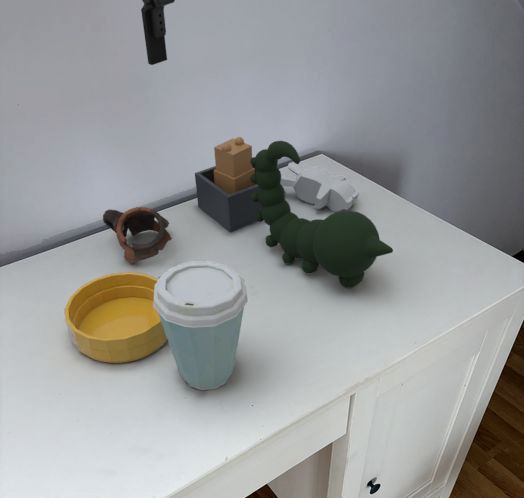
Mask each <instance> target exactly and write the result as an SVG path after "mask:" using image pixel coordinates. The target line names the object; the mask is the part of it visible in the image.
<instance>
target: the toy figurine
mask: <svg viewBox="0 0 524 498" xmlns="http://www.w3.org/2000/svg"><path fill="white" fill-rule="evenodd" d="M283 158H287V159H289V160H291V162H294V163H296V164H299V165H300V163H301V158H300V155H299V154H298V151H297V149H296V148H295V147H294V146H293V144H291V143H289V141H288V142H287V141H285V140H276V141H273V142H271V143H270V144H269V145H268V147H267V149H261V150H260V151H258V152H257V153H256V155H255V156H252V158H251V160H250V164H251V165H252V166H255V167H256V169H257V171H256V174H252V175H251V177H250V181H251V182H252V183H255V184H256V183H257V185H258V186H259V189H258V193H257V192H255V193H253V194H252V196H251V199H252V201H254V202H258V201H259V202H260V204H261V205H262V207H261V210H260V211H257V212H256V213H255V217H254V218H255V219H256V221H257V222H259V223H262V222H264V224H266V225H267V226H269V233H270V234H269V235H267V236H266V237H265V245H266V246H267V247H269V248H275V247H277V246H278V245H280V247H281V250H282V251H283V253H282V256H281V259H282V261H283V263H284V264H287V265H291V264H293V263H294V262H295V261H296V259H299V260H301V263H300V268H301V270H302V271H303V273H305V274H308V275H311V274H314V273H315V272H317V271H318V270H319V266H320V267H321V268H322V269H323V270H324V271H325V272H326V273H329V274H330V275H332V276H335V277H338V281H339V284H340V285H341V287H343V288H346V289H351V288H353V287H355V286H357V285H358V284H360V283H361V282H362V281H363V279H364V277H365V274H366V273H365V272H366V271H368V269H370V268H371V267H372V265H373V264H374V263H375V261H376V260H377V257H381V256H385V255H388V254H393V253H394V248H392V247H391V246H390V245H388V244H387V243H385V242H384V241H382V240H381V239H380V233H379V231H378V229H377V227H376V225H375V223H373V221H372V220H371V219H370V218H369V217H368V216H366V215H365V214H363V213H361V212H358V211H355V210H341V211H336V212H334V213H331V214H329V215H328V216H327V217H326V218H324V219H319V218H318V219H317V218H315V219H311V220H309V219H307V218H303V217H299V216H298V215H297V214H295V213H294V212H293V211H292V210H291V207H290V204H289V202H288V201H287V200H286V191H285V187H284V186H282V185H281V184H280V182H281V174H282V173H281V170H280V169H279V167H278V162H279V160H281V159H283Z"/></svg>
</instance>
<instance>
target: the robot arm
mask: <svg viewBox="0 0 524 498" xmlns="http://www.w3.org/2000/svg"><path fill="white" fill-rule="evenodd" d="M141 1H142V3H143V6H141V7H142V8H141V9H140V11H141V18H142V19H141V20H142V27H143V34H144V41H145V48H146V56H147V57H146V58H147V64H148V65H150V66H154V65H156V64H159V63H163V62H166V61H168V54H167V45H166V35H167V34H166V33H167V28H166V20H165V19H166V18H165V6H168V5H170V4H173V3H174V4H175V1H176V0H141Z"/></svg>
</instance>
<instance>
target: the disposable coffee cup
mask: <svg viewBox="0 0 524 498" xmlns="http://www.w3.org/2000/svg"><path fill="white" fill-rule="evenodd" d="M157 279H158V282H157V283H156V284H155V286H154V304H153V307H154V308H155V309H156V310H157V311H158V314H159V317H160V319H161V322H162V325H163V328H164V330H165V333H166V336H167V339H168V340H167V342H168V344H169V347H170V350H171V352H172V355H173V358H174V362H175V364H176V366H177V369H178V372H179V374H180V376H181V377H182V379H183V380H184V381H185V382H186V384H187V385H188V386H189V387H191V388H194V389H197V390H199V391H210V390H211V391H213V390H215V389H218V388H220V387H222V386H225V384H226V383H227V382H228V380H229V378H230V377H231V376H232V374H233V372H234V370H235V369H234V368H235V364H236V363H235V362H236V357H237V351H238V345H239V344H238V343H239V339H240V333H241V327H242V321H243V316H244V309H245V306H246V304H247V303H248V302H249V301H248V294H247V286H246V282H245V279H244V278H243V277H242V276H241V275H240V274H239V273H237V272H236V271H235V270H234V269H233V268H232V267H230V266H229V265H226V264H222V263H219V262H216V261H211V260H197V261H195V260H193V261H186V262H184V263H180V264H178V265H175V266H172V267H170V268H168V269H167V270H166V271H165V272H164V273H163V274H161V276H159V278H157Z"/></svg>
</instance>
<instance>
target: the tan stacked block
mask: <svg viewBox="0 0 524 498" xmlns="http://www.w3.org/2000/svg"><path fill="white" fill-rule="evenodd" d="M213 151H214V162H215V164H214V165H215V166H216V169H215V170H214V181H215V185H217V186H218V187H219V188H221V189H222V190H224V191H225V192H226V193H228V194H232V193H235V192H237V191H240V190H243V189H245V188H248V187H251V186H253V185H255V183H252V182H251V181H250V177H251V175H252V174H255V168H252V165H251V164H250V160H251V158H253V146H252V145H251V144H248V143H247V142H245V140H244V138H243V137H241V136H237V137H235V138H230V139H228V140H226V141H224V142H221V143H219V144H217V145H216V146H214V148H213Z"/></svg>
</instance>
